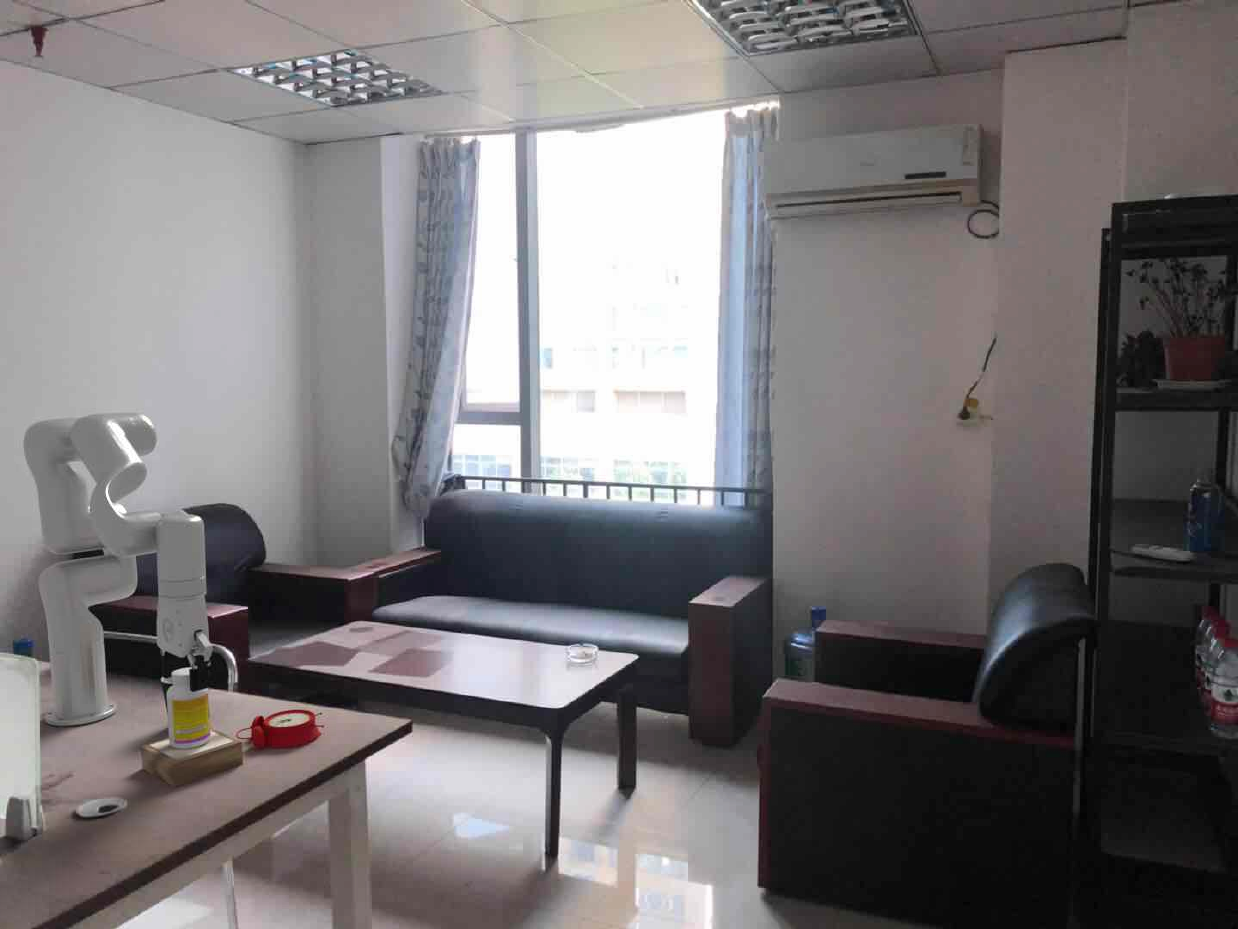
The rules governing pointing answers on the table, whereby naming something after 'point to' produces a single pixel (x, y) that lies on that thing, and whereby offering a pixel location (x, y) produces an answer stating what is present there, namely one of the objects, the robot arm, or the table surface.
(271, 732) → the alarm clock
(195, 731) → the supplement bottle
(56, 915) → the table surface
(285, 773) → the table surface
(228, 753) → the base block
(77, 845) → the table surface
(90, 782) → the table surface
